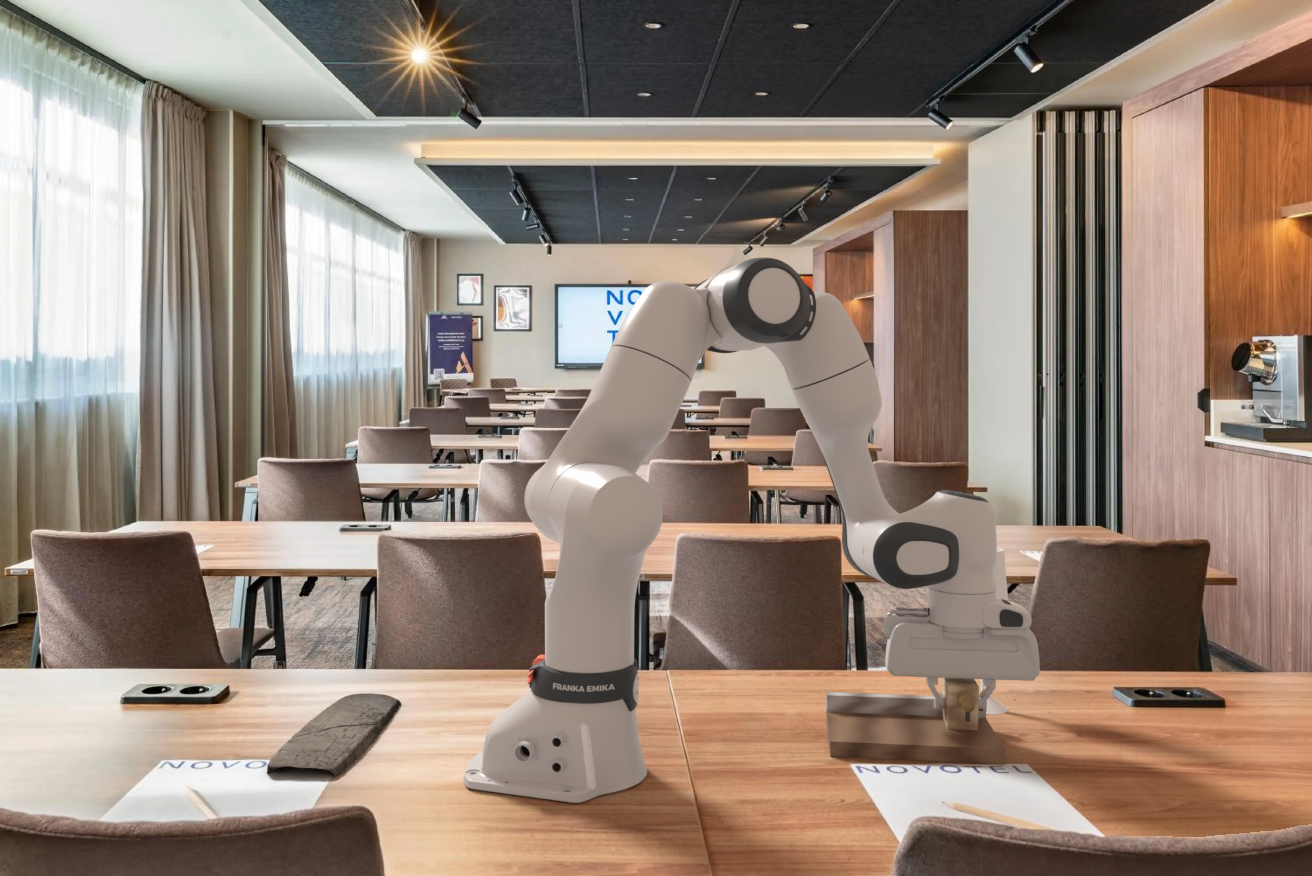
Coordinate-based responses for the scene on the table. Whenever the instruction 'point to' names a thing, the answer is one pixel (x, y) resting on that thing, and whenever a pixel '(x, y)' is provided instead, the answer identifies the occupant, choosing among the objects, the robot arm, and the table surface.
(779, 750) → the table surface
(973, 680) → the marking gauge
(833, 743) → the walnut board
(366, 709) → the stone slab
